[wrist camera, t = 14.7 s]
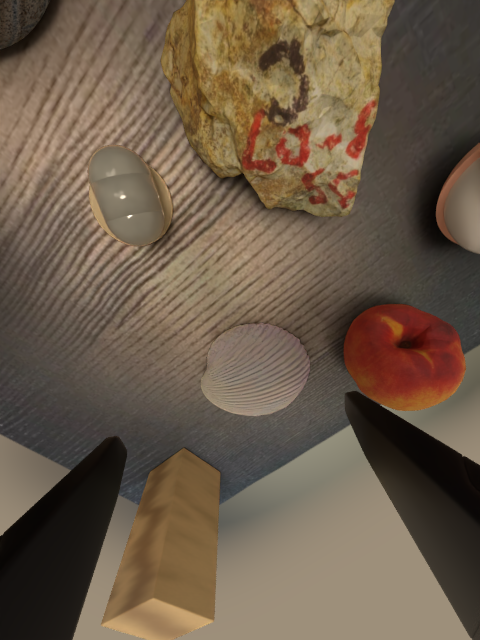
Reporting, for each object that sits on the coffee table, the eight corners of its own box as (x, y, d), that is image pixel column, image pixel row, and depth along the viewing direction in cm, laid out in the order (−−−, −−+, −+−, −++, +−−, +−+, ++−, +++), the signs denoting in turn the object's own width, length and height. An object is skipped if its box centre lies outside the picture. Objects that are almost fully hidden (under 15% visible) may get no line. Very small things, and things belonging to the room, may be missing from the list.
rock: (291, 172, 20) (370, 219, 14) (196, 201, 19) (232, 266, 13) (295, -96, 11) (520, -312, 5) (120, -66, 11) (117, -282, 4)
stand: (186, 494, 30) (162, 644, 19) (149, 472, 28) (99, 626, 17) (220, 472, 28) (214, 621, 18) (183, 447, 26) (152, 598, 16)
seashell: (176, 348, 18) (313, 341, 16) (200, 320, 23) (307, 311, 20) (205, 444, 22) (318, 449, 19) (220, 401, 27) (312, 402, 24)
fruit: (425, 290, 20) (538, 332, 13) (400, 369, 23) (478, 439, 16) (335, 292, 20) (397, 334, 12) (322, 371, 23) (365, 442, 16)
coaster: (112, 252, 18) (109, 253, 17) (77, 168, 16) (73, 167, 15) (182, 236, 18) (182, 236, 17) (157, 148, 15) (155, 146, 15)
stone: (167, 239, 18) (176, 238, 15) (118, 251, 17) (116, 253, 14) (140, 153, 16) (143, 130, 12) (80, 160, 14) (68, 137, 11)
